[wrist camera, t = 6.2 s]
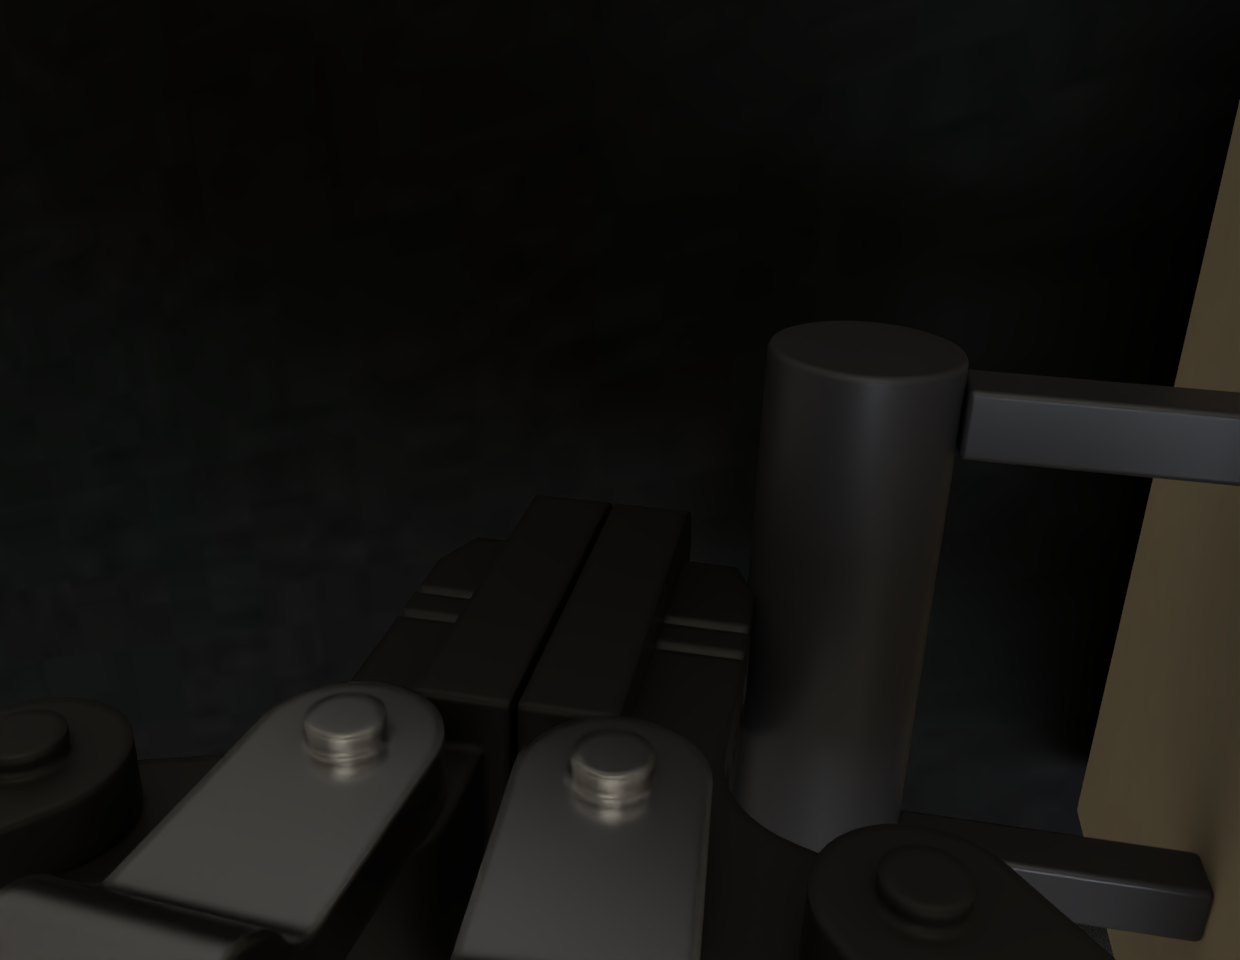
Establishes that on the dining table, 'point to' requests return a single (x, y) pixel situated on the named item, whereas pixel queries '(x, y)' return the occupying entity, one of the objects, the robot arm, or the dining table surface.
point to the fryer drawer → (905, 581)
